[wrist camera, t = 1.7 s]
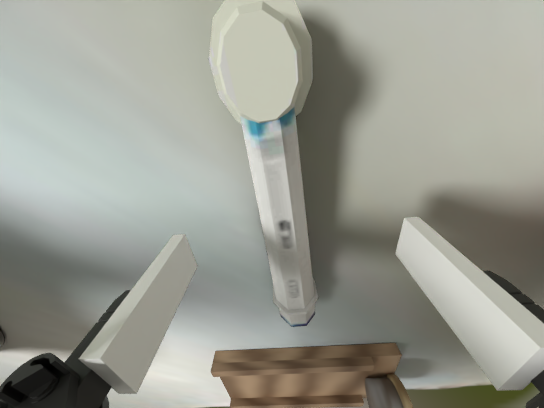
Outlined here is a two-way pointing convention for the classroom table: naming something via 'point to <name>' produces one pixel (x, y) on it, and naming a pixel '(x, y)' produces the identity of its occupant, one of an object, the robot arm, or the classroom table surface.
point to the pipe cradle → (312, 377)
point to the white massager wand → (271, 131)
